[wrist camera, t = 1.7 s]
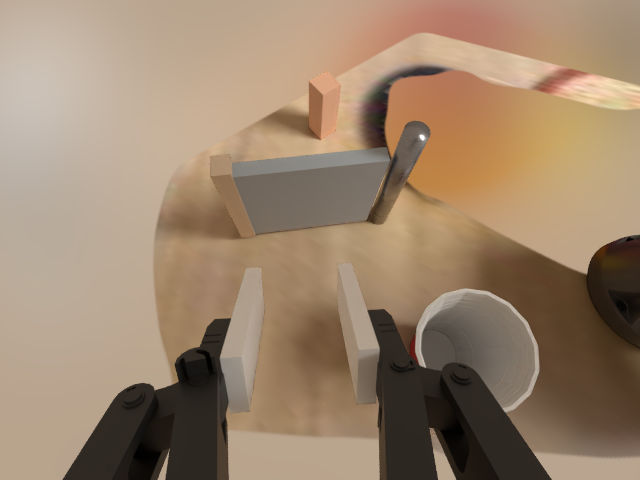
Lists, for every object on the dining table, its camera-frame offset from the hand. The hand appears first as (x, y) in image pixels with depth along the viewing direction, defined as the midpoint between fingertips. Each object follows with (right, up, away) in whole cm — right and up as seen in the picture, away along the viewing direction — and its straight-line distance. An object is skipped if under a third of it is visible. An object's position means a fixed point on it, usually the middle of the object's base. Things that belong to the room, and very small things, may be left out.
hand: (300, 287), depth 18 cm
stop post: (+1, +20, +34) cm, 39 cm away
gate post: (+9, +6, +29) cm, 31 cm away
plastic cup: (+15, -11, +22) cm, 29 cm away
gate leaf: (-1, +5, +27) cm, 27 cm away
